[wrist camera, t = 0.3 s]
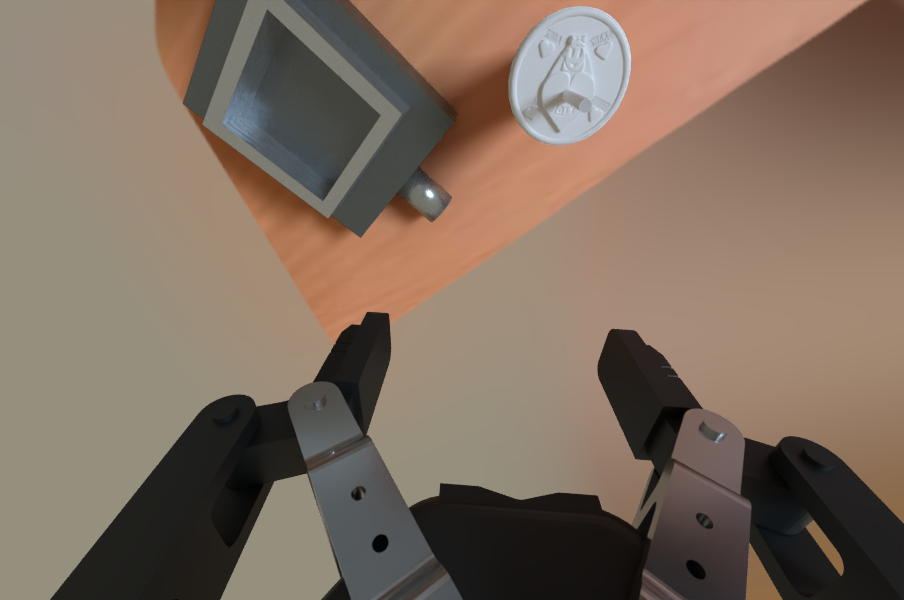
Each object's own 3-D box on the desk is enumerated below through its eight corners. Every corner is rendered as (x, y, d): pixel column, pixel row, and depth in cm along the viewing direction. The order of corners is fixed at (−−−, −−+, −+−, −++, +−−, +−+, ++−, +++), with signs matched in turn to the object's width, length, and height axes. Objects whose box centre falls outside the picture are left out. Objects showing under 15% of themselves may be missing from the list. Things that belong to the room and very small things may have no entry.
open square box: (279, -72, 22) (211, -111, 17) (491, 148, 29) (493, 172, 24) (216, 97, 29) (151, 109, 23) (403, 244, 36) (388, 281, 30)
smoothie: (497, 118, 28) (506, 164, 17) (506, 17, 24) (525, -9, 13) (576, 120, 28) (638, 169, 16) (597, 19, 24) (698, -8, 13)
